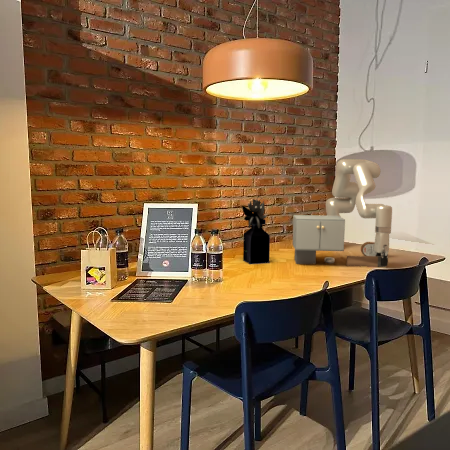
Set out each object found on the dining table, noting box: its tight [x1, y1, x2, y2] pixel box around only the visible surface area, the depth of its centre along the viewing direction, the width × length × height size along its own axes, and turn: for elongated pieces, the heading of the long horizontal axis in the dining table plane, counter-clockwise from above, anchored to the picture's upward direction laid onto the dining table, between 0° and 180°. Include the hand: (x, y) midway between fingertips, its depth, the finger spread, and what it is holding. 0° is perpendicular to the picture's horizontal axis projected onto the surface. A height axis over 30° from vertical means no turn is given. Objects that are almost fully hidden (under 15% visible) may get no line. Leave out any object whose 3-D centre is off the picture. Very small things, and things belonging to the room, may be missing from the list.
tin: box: [360, 241, 376, 256], centre depth 244 cm, size 15×3×8 cm, turn 84°
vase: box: [241, 195, 271, 265], centre depth 225 cm, size 14×12×35 cm
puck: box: [324, 256, 335, 264], centre depth 228 cm, size 5×5×2 cm
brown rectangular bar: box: [346, 255, 389, 268], centre depth 219 cm, size 2×20×5 cm, turn 86°
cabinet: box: [292, 214, 346, 265], centre depth 225 cm, size 20×24×24 cm
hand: (381, 263), depth 219 cm, fingers open, 8 cm apart
